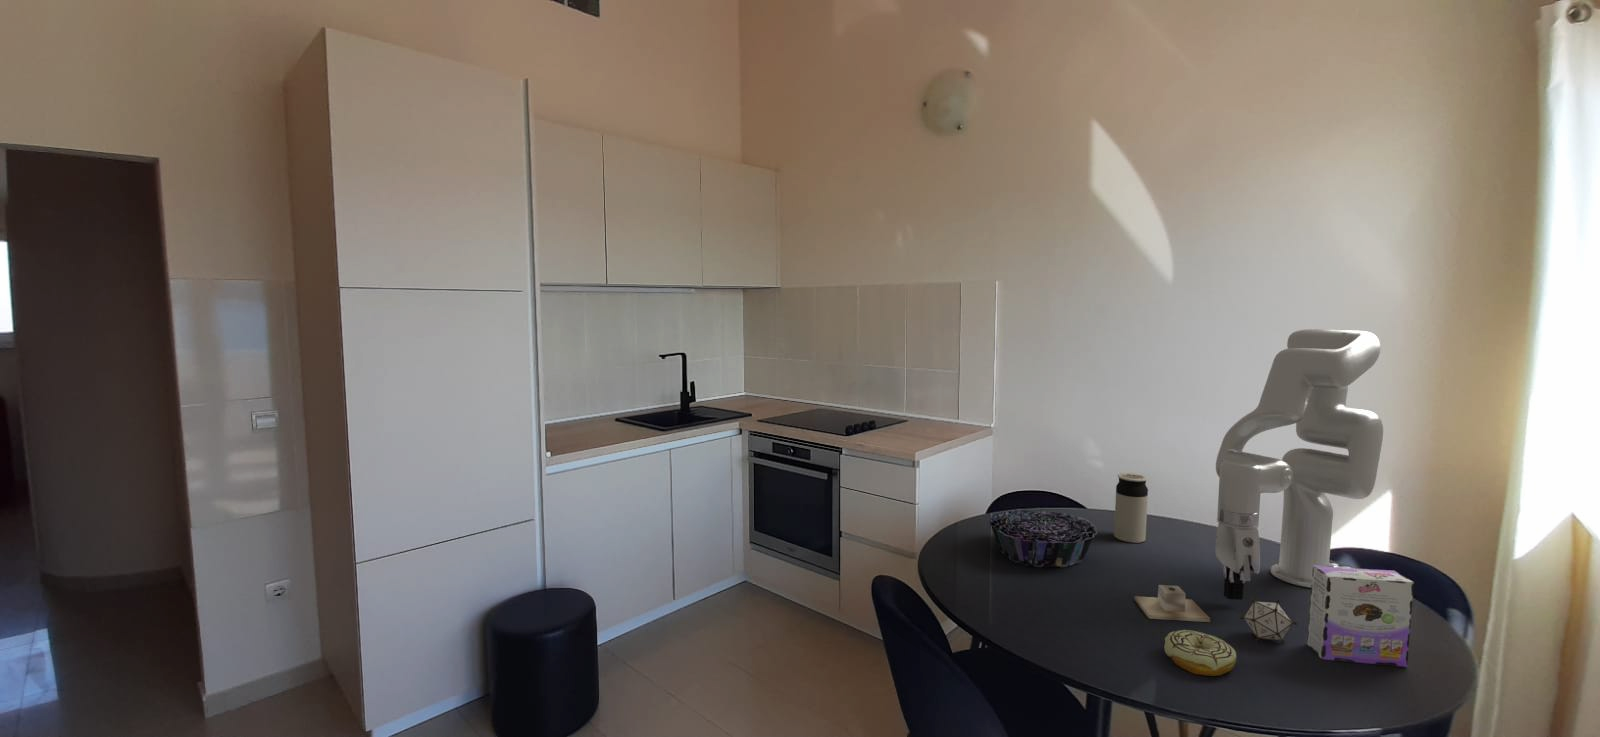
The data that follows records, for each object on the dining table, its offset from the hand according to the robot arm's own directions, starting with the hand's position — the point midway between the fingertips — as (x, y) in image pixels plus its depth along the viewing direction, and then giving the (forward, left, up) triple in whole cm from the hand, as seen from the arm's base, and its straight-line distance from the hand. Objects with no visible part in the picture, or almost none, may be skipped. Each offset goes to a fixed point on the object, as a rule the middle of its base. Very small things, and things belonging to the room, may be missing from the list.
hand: (1233, 597), depth 147 cm
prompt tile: (+14, +4, -2) cm, 15 cm away
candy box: (-13, +19, -2) cm, 23 cm away
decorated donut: (+17, +25, -2) cm, 30 cm away
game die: (0, +15, -2) cm, 15 cm away
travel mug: (+8, -41, -2) cm, 42 cm away
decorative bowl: (+35, -26, -2) cm, 44 cm away
